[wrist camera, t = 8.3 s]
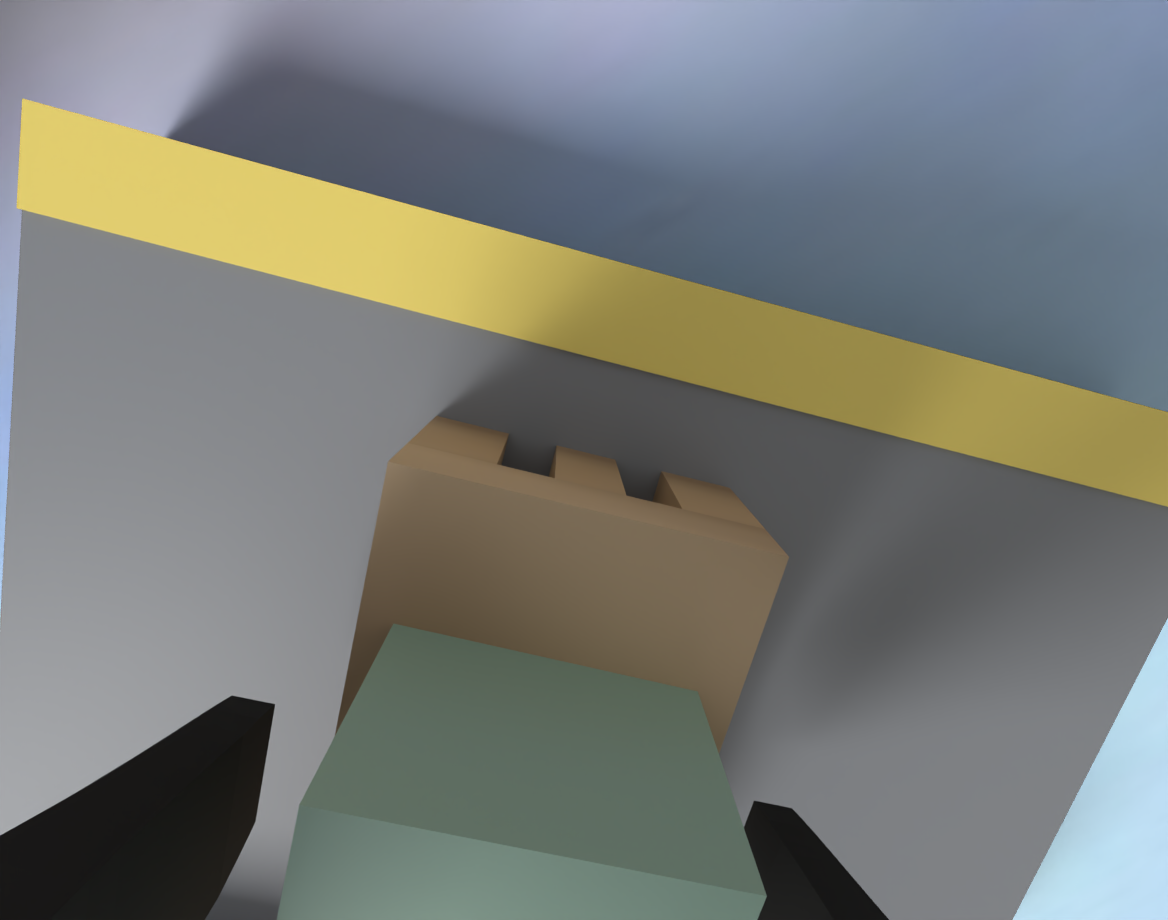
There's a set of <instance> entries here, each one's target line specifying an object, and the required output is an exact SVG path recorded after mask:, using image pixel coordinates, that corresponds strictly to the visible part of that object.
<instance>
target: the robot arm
mask: <svg viewBox="0 0 1168 920" xmlns="http://www.w3.org/2000/svg"><path fill="white" fill-rule="evenodd" d="M274 709H275V704H272V703H267V702H262V701H257V700H252V699H247V698H242V697H237V696H230V697H228V698H227V699H225V700H223V701H222V702H220V703H218V704H217V705H215V706H214V707H212V708H210V709H209V710H207V711H206V712H204V713H202V714H201V715H199V716H198V717H196V718H195V719H193V720H192V721H190V722H188V723H187V724H185V725H184V726H182V727H181V728H179V729H178V730H176V731H175V732H173V733H171V734H170V735H168V736H167V737H165V738H164V739H162V740H160V741H159V742H157V743H156V744H154V745H153V746H151V747H149V748H148V749H146V750H145V751H143V752H142V753H140V754H138V755H137V756H135V757H133V758H132V759H130V760H129V761H127V762H125V763H124V764H122V765H120V766H119V767H117V768H115V769H114V770H112V771H111V772H109V773H107V774H106V775H104V776H102V777H101V778H99V779H97V780H96V781H94V782H93V783H91V784H89V785H88V786H86V787H84V788H83V789H81V790H79V791H78V792H76V793H74V794H73V795H71V796H69V797H67V798H66V799H64V800H62V801H61V802H59V803H57V804H55V805H53V806H52V807H50V808H48V809H46V810H45V811H43V812H41V813H39V814H37V815H36V816H34V817H32V818H30V819H28V820H27V821H25V822H23V823H21V824H20V825H18V826H16V827H14V828H12V829H11V830H9V831H7V832H5V833H4V834H2V835H0V920H205V919H206V917H207V915H208V914H209V912H210V910H211V909H212V907H213V906H214V904H215V902H216V901H217V899H218V897H219V895H220V893H221V891H222V889H223V887H224V885H225V883H226V881H227V879H228V877H229V875H230V873H231V871H232V869H233V867H234V865H235V863H236V861H237V859H238V857H239V855H240V853H241V851H242V849H243V847H244V845H245V843H246V841H247V839H248V837H249V835H250V832H251V830H252V828H253V826H254V824H255V822H256V816H257V810H258V804H259V798H260V792H261V786H262V780H263V775H264V769H265V763H266V757H267V751H268V745H269V739H270V733H271V727H272V721H273V715H274ZM744 830H745V833H746V836H747V839H748V842H749V845H750V848H751V851H752V854H753V857H754V859H755V862H756V865H757V868H758V871H759V874H760V877H761V880H762V883H763V886H764V889H765V892H766V895H767V897H766V900H765V902H764V905H763V907H762V910H761V912H760V914H759V917H758V919H757V920H889V919H888V918H887V917H886V915H885V914H884V913H883V912H882V911H881V910H880V909H879V907H878V906H877V905H876V904H875V903H874V902H873V900H872V899H871V898H870V897H869V896H868V895H867V893H866V892H865V891H864V890H863V889H862V888H861V886H860V885H859V884H858V883H857V882H856V881H855V879H854V878H853V877H852V876H851V875H850V874H849V872H848V871H847V870H846V869H845V868H844V866H843V865H842V864H841V863H840V862H839V861H838V859H837V858H836V857H835V856H834V855H833V854H832V852H831V851H830V850H829V849H828V848H827V847H826V845H825V844H824V843H823V842H822V841H821V840H820V839H819V837H818V836H817V835H816V834H815V833H814V832H813V831H812V829H811V828H810V827H809V826H808V825H807V824H806V823H805V822H804V820H803V819H802V818H801V817H800V816H799V815H798V814H797V813H796V812H795V811H794V810H793V809H792V808H789V807H784V806H779V805H774V804H769V803H764V802H759V801H754V802H753V804H752V807H751V810H750V812H749V815H748V818H747V820H746V823H745V826H744Z"/></svg>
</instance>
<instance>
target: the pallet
mask: <svg viewBox="0 0 1168 920" xmlns="http://www.w3.org/2000/svg"><path fill="white" fill-rule="evenodd" d="M508 436H509V433H504V432H500V431H496V430H492V429H488V428H484V427H480V426H476V425H472V424H468V423H464V422H460V421H456V420H452V419H447V418H443V417H439V416H436V417H435V418H434V419H432V420H431V421H430V422H429V423H428V424H427V425H426V426H425V427H424V428H423V429H422V430H421V431H420V432H419V433H418V434H417V435H416V436H414V437H413V438H412V439H411V440H410V441H409V442H408V443H407V444H406V445H405V446H404V447H403V448H402V449H401V450H400V451H399V452H398V453H396V454H395V455H394V456H393V457H392V458H391V459H390V460H389V461H388V464H387V469H386V474H385V479H384V485H383V490H382V495H381V500H380V505H379V510H378V515H377V521H376V526H375V531H374V536H373V541H372V546H371V552H370V557H369V562H368V567H367V572H366V577H365V582H364V588H363V593H362V598H361V603H360V608H359V613H358V618H357V624H356V629H355V634H354V639H353V644H352V649H351V655H350V660H349V665H348V670H347V675H346V680H345V685H344V691H343V696H342V701H341V706H340V711H339V716H338V721H337V727H336V732H335V735H336V733H337V731H338V729H339V727H340V725H341V724H342V722H343V720H344V718H345V716H346V714H347V712H348V710H349V708H350V706H351V704H352V702H353V700H354V698H355V697H356V695H357V693H358V691H359V689H360V687H361V685H362V683H363V681H364V679H365V677H366V675H367V673H368V672H369V670H370V668H371V666H372V664H373V662H374V660H375V658H376V656H377V654H378V652H379V650H380V648H381V646H382V645H383V643H384V641H385V639H386V637H387V635H388V633H389V631H390V629H391V627H392V625H393V624H398V625H402V626H407V627H411V628H416V629H420V630H425V631H429V632H434V633H438V634H443V635H447V636H452V637H456V638H461V639H465V640H470V641H474V642H479V643H483V644H487V645H492V646H496V647H501V648H505V649H510V650H514V651H519V652H523V653H528V654H532V655H537V656H541V657H546V658H550V659H555V660H559V661H564V662H568V663H573V664H577V665H582V666H586V667H590V668H595V669H599V670H604V671H608V672H613V673H617V674H622V675H626V676H631V677H635V678H640V679H644V680H649V681H653V682H658V683H662V684H667V685H671V686H676V687H680V688H685V689H689V690H693V691H698V694H699V697H700V700H701V703H702V706H703V709H704V711H705V714H706V717H707V720H708V723H709V726H710V729H711V732H712V735H713V738H714V741H715V744H716V747H717V750H718V753H720V750H721V747H722V744H723V741H724V739H725V736H726V733H727V730H728V727H729V724H730V722H731V719H732V716H733V713H734V710H735V708H736V705H737V702H738V699H739V696H740V694H741V691H742V688H743V685H744V682H745V680H746V677H747V674H748V671H749V668H750V666H751V663H752V660H753V657H754V654H755V652H756V649H757V646H758V643H759V640H760V637H761V635H762V632H763V629H764V626H765V623H766V621H767V618H768V615H769V612H770V609H771V607H772V604H773V601H774V598H775V595H776V593H777V590H778V587H779V584H780V581H781V579H782V576H783V573H784V570H785V567H786V565H787V562H788V559H789V556H788V555H787V554H786V553H785V551H784V550H783V549H782V548H781V547H780V546H779V544H778V543H777V542H776V541H775V540H774V539H773V538H772V536H771V535H770V534H769V533H768V532H767V531H766V529H765V528H764V527H763V526H762V525H761V524H760V522H759V521H758V520H757V519H756V518H755V517H754V515H753V514H752V513H751V512H750V511H749V510H748V508H747V507H746V506H745V505H744V504H743V503H742V502H741V500H740V499H739V498H738V497H737V496H736V495H735V493H734V492H733V491H732V490H731V489H730V488H728V487H724V486H720V485H716V484H712V483H708V482H704V481H700V480H696V479H692V478H688V477H684V476H679V475H675V474H671V473H667V472H663V471H661V474H660V478H659V481H658V485H657V488H656V491H655V495H654V498H653V501H652V502H651V501H647V500H643V499H639V498H635V497H630V496H626V492H625V489H624V486H623V483H622V480H621V476H620V473H619V470H618V467H617V464H616V460H614V459H610V458H606V457H602V456H598V455H594V454H590V453H586V452H582V451H578V450H574V449H570V448H566V447H561V446H556V450H555V454H554V458H553V462H552V465H551V469H550V473H549V477H547V476H543V475H539V474H535V473H531V472H527V471H522V470H518V469H514V468H510V467H506V466H502V461H503V457H504V453H505V449H506V444H507V440H508Z"/></svg>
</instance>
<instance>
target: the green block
mask: <svg viewBox="0 0 1168 920" xmlns="http://www.w3.org/2000/svg"><path fill="white" fill-rule="evenodd" d="M766 897H767V895H766V892H765V889H764V886H763V883H762V880H761V877H760V874H759V871H758V868H757V865H756V862H755V859H754V857H753V854H752V851H751V848H750V845H749V842H748V839H747V836H746V833H745V830H744V827H743V824H742V821H741V818H740V815H739V812H738V809H737V806H736V803H735V800H734V797H733V794H732V791H731V788H730V785H729V783H728V780H727V777H726V774H725V771H724V768H723V765H722V762H721V759H720V756H719V753H718V750H717V747H716V744H715V741H714V738H713V735H712V732H711V729H710V726H709V723H708V720H707V717H706V714H705V711H704V709H703V706H702V703H701V700H700V697H699V694H698V691H693V690H689V689H685V688H680V687H676V686H671V685H667V684H662V683H658V682H653V681H649V680H644V679H640V678H635V677H631V676H626V675H622V674H617V673H613V672H608V671H604V670H599V669H595V668H590V667H586V666H582V665H577V664H573V663H568V662H564V661H559V660H555V659H550V658H546V657H541V656H537V655H532V654H528V653H523V652H519V651H514V650H510V649H505V648H501V647H496V646H492V645H487V644H483V643H479V642H474V641H470V640H465V639H461V638H456V637H452V636H447V635H443V634H438V633H434V632H429V631H425V630H420V629H416V628H411V627H407V626H402V625H398V624H393V625H392V627H391V629H390V631H389V633H388V635H387V637H386V639H385V641H384V643H383V645H382V646H381V648H380V650H379V652H378V654H377V656H376V658H375V660H374V662H373V664H372V666H371V668H370V670H369V672H368V673H367V675H366V677H365V679H364V681H363V683H362V685H361V687H360V689H359V691H358V693H357V695H356V697H355V698H354V700H353V702H352V704H351V706H350V708H349V710H348V712H347V714H346V716H345V718H344V720H343V722H342V724H341V725H340V727H339V729H338V731H337V733H336V735H335V737H334V739H333V741H332V743H331V745H330V747H329V749H328V750H327V752H326V754H325V756H324V758H323V760H322V762H321V764H320V766H319V768H318V770H317V772H316V774H315V776H314V777H313V779H312V781H311V783H310V785H309V787H308V789H307V791H306V793H305V795H304V797H303V799H302V801H301V802H300V804H299V809H298V814H297V819H296V824H295V829H294V834H293V839H292V844H291V850H290V855H289V860H288V865H287V870H286V875H285V880H284V885H283V890H282V896H281V901H280V906H279V911H278V916H277V920H757V919H758V917H759V914H760V912H761V910H762V907H763V905H764V902H765V900H766Z"/></svg>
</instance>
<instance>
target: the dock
mask: <svg viewBox="0 0 1168 920" xmlns="http://www.w3.org/2000/svg"><path fill="white" fill-rule="evenodd" d="M17 208H18V209H22V221H21V240H20V259H19V278H18V297H17V316H16V335H15V354H14V372H13V391H12V410H11V429H10V448H9V467H8V486H7V505H6V524H5V543H4V562H3V580H2V599H1V618H0V835H2V834H4V833H5V832H7V831H9V830H11V829H12V828H14V827H16V826H18V825H20V824H21V823H23V822H25V821H27V820H28V819H30V818H32V817H34V816H36V815H37V814H39V813H41V812H43V811H45V810H46V809H48V808H50V807H52V806H53V805H55V804H57V803H59V802H61V801H62V800H64V799H66V798H67V797H69V796H71V795H73V794H74V793H76V792H78V791H79V790H81V789H83V788H84V787H86V786H88V785H89V784H91V783H93V782H94V781H96V780H97V779H99V778H101V777H102V776H104V775H106V774H107V773H109V772H111V771H112V770H114V769H115V768H117V767H119V766H120V765H122V764H124V763H125V762H127V761H129V760H130V759H132V758H133V757H135V756H137V755H138V754H140V753H142V752H143V751H145V750H146V749H148V748H149V747H151V746H153V745H154V744H156V743H157V742H159V741H160V740H162V739H164V738H165V737H167V736H168V735H170V734H171V733H173V732H175V731H176V730H178V729H179V728H181V727H182V726H184V725H185V724H187V723H188V722H190V721H192V720H193V719H195V718H196V717H198V716H199V715H201V714H202V713H204V712H206V711H207V710H209V709H210V708H212V707H214V706H215V705H217V704H218V703H220V702H222V701H223V700H225V699H227V698H228V697H230V696H237V697H242V698H247V699H252V700H257V701H262V702H267V703H272V704H275V709H274V715H273V721H272V727H271V733H270V739H269V745H268V751H267V757H266V763H265V769H264V775H263V780H262V786H261V792H260V798H259V804H258V810H257V816H256V822H255V824H254V826H253V828H252V830H251V832H250V835H249V837H248V839H247V841H246V843H245V845H244V847H243V849H242V851H241V853H240V855H239V857H238V859H237V861H236V863H235V865H234V867H233V869H232V871H231V873H230V875H229V877H228V879H227V881H226V883H225V885H224V887H223V889H222V891H221V893H220V895H219V897H218V899H217V901H216V902H215V904H214V906H213V907H212V909H211V910H210V912H209V914H208V915H207V917H206V919H205V920H277V916H278V911H279V906H280V901H281V896H282V890H283V885H284V880H285V875H286V870H287V865H288V860H289V855H290V850H291V844H292V839H293V834H294V829H295V824H296V819H297V814H298V809H299V804H300V802H301V801H302V799H303V797H304V795H305V793H306V791H307V789H308V787H309V785H310V783H311V781H312V779H313V777H314V776H315V774H316V772H317V770H318V768H319V766H320V764H321V762H322V760H323V758H324V756H325V754H326V752H327V750H328V749H329V747H330V745H331V743H332V741H333V739H334V737H335V732H336V727H337V721H338V716H339V711H340V706H341V701H342V696H343V691H344V685H345V680H346V675H347V670H348V665H349V660H350V655H351V649H352V644H353V639H354V634H355V629H356V624H357V618H358V613H359V608H360V603H361V598H362V593H363V588H364V582H365V577H366V572H367V567H368V562H369V557H370V552H371V546H372V541H373V536H374V531H375V526H376V521H377V515H378V510H379V505H380V500H381V495H382V490H383V485H384V479H385V474H386V469H387V464H388V461H389V460H390V459H391V458H392V457H393V456H394V455H395V454H396V453H398V452H399V451H400V450H401V449H402V448H403V447H404V446H405V445H406V444H407V443H408V442H409V441H410V440H411V439H412V438H413V437H414V436H416V435H417V434H418V433H419V432H420V431H421V430H422V429H423V428H424V427H425V426H426V425H427V424H428V423H429V422H430V421H431V420H432V419H434V418H435V417H436V416H439V417H443V418H447V419H452V420H456V421H460V422H464V423H468V424H472V425H476V426H480V427H484V428H488V429H492V430H496V431H500V432H504V433H509V436H508V440H507V444H506V449H505V453H504V457H503V461H502V466H506V467H510V468H514V469H518V470H522V471H527V472H531V473H535V474H539V475H543V476H547V477H549V473H550V469H551V465H552V462H553V458H554V454H555V450H556V446H561V447H566V448H570V449H574V450H578V451H582V452H586V453H590V454H594V455H598V456H602V457H606V458H610V459H614V460H616V464H617V467H618V470H619V473H620V476H621V480H622V483H623V486H624V489H625V492H626V496H630V497H635V498H639V499H643V500H647V501H651V502H652V501H653V498H654V495H655V491H656V488H657V485H658V481H659V478H660V474H661V471H663V472H667V473H671V474H675V475H679V476H684V477H688V478H692V479H696V480H700V481H704V482H708V483H712V484H716V485H720V486H724V487H728V488H730V489H731V490H732V491H733V492H734V493H735V495H736V496H737V497H738V498H739V499H740V500H741V502H742V503H743V504H744V505H745V506H746V507H747V508H748V510H749V511H750V512H751V513H752V514H753V515H754V517H755V518H756V519H757V520H758V521H759V522H760V524H761V525H762V526H763V527H764V528H765V529H766V531H767V532H768V533H769V534H770V535H771V536H772V538H773V539H774V540H775V541H776V542H777V543H778V544H779V546H780V547H781V548H782V549H783V550H784V551H785V553H786V554H787V555H788V556H789V559H788V562H787V565H786V567H785V570H784V573H783V576H782V579H781V581H780V584H779V587H778V590H777V593H776V595H775V598H774V601H773V604H772V607H771V609H770V612H769V615H768V618H767V621H766V623H765V626H764V629H763V632H762V635H761V637H760V640H759V643H758V646H757V649H756V652H755V654H754V657H753V660H752V663H751V666H750V668H749V671H748V674H747V677H746V680H745V682H744V685H743V688H742V691H741V694H740V696H739V699H738V702H737V705H736V708H735V710H734V713H733V716H732V719H731V722H730V724H729V727H728V730H727V733H726V736H725V739H724V741H723V744H722V747H721V750H720V753H719V756H720V759H721V762H722V765H723V768H724V771H725V774H726V777H727V780H728V783H729V785H730V788H731V791H732V794H733V797H734V800H735V803H736V806H737V809H738V812H739V815H740V818H741V821H742V824H743V827H744V826H745V823H746V820H747V818H748V815H749V812H750V810H751V807H752V804H753V802H754V801H759V802H764V803H769V804H774V805H779V806H784V807H789V808H792V809H793V810H794V811H795V812H796V813H797V814H798V815H799V816H800V817H801V818H802V819H803V820H804V822H805V823H806V824H807V825H808V826H809V827H810V828H811V829H812V831H813V832H814V833H815V834H816V835H817V836H818V837H819V839H820V840H821V841H822V842H823V843H824V844H825V845H826V847H827V848H828V849H829V850H830V851H831V852H832V854H833V855H834V856H835V857H836V858H837V859H838V861H839V862H840V863H841V864H842V865H843V866H844V868H845V869H846V870H847V871H848V872H849V874H850V875H851V876H852V877H853V878H854V879H855V881H856V882H857V883H858V884H859V885H860V886H861V888H862V889H863V890H864V891H865V892H866V893H867V895H868V896H869V897H870V898H871V899H872V900H873V902H874V903H875V904H876V905H877V906H878V907H879V909H880V910H881V911H882V912H883V913H884V914H885V915H886V917H887V918H888V919H889V920H1012V919H1013V917H1014V916H1015V914H1016V912H1017V910H1018V908H1019V906H1020V904H1021V902H1022V900H1023V898H1024V896H1025V894H1026V892H1027V890H1028V888H1029V886H1030V884H1031V882H1032V881H1033V879H1034V877H1035V875H1036V873H1037V871H1038V869H1039V867H1040V865H1041V863H1042V861H1043V859H1044V857H1045V855H1046V853H1047V851H1048V849H1049V847H1050V846H1051V844H1052V842H1053V840H1054V838H1055V836H1056V834H1057V832H1058V830H1059V828H1060V826H1061V824H1062V822H1063V820H1064V818H1065V816H1066V814H1067V813H1068V811H1069V809H1070V807H1071V805H1072V803H1073V801H1074V799H1075V797H1076V795H1077V793H1078V791H1079V789H1080V787H1081V785H1082V783H1083V781H1084V779H1085V778H1086V776H1087V774H1088V772H1089V770H1090V768H1091V766H1092V764H1093V762H1094V760H1095V758H1096V756H1097V754H1098V752H1099V750H1100V748H1101V746H1102V744H1103V743H1104V741H1105V739H1106V737H1107V735H1108V733H1109V731H1110V729H1111V727H1112V725H1113V723H1114V721H1115V719H1116V717H1117V715H1118V713H1119V711H1120V710H1121V708H1122V706H1123V704H1124V702H1125V700H1126V698H1127V696H1128V694H1129V692H1130V690H1131V688H1132V686H1133V684H1134V682H1135V680H1136V678H1137V676H1138V675H1139V673H1140V671H1141V669H1142V667H1143V665H1144V663H1145V661H1146V659H1147V657H1148V655H1149V653H1150V651H1151V649H1152V647H1153V645H1154V643H1155V642H1156V640H1157V638H1158V636H1159V634H1160V632H1161V630H1162V628H1163V626H1164V624H1165V622H1166V620H1167V618H1168V412H1165V411H1162V410H1158V409H1154V408H1151V407H1147V406H1144V405H1140V404H1136V403H1133V402H1129V401H1125V400H1122V399H1118V398H1114V397H1111V396H1107V395H1103V394H1100V393H1096V392H1092V391H1089V390H1085V389H1081V388H1078V387H1074V386H1070V385H1067V384H1063V383H1060V382H1056V381H1052V380H1049V379H1045V378H1041V377H1038V376H1034V375H1030V374H1027V373H1023V372H1019V371H1016V370H1012V369H1008V368H1005V367H1001V366H997V365H994V364H990V363H987V362H983V361H979V360H976V359H972V358H968V357H965V356H961V355H957V354H954V353H950V352H946V351H943V350H939V349H935V348H932V347H928V346H924V345H921V344H917V343H913V342H910V341H906V340H903V339H899V338H895V337H892V336H888V335H884V334H881V333H877V332H873V331H870V330H866V329H862V328H859V327H855V326H851V325H848V324H844V323H840V322H837V321H833V320H829V319H826V318H822V317H819V316H815V315H811V314H808V313H804V312H800V311H797V310H793V309H789V308H786V307H782V306H778V305H775V304H771V303H767V302H764V301H760V300H756V299H753V298H749V297H745V296H742V295H738V294H735V293H731V292H727V291H724V290H720V289H716V288H713V287H709V286H705V285H702V284H698V283H694V282H691V281H687V280H683V279H680V278H676V277H672V276H669V275H665V274H661V273H658V272H654V271H651V270H647V269H643V268H640V267H636V266H632V265H629V264H625V263H621V262H618V261H614V260H610V259H607V258H603V257H599V256H596V255H592V254H588V253H585V252H581V251H578V250H574V249H570V248H567V247H563V246H559V245H556V244H552V243H548V242H545V241H541V240H537V239H534V238H530V237H526V236H523V235H519V234H515V233H512V232H508V231H504V230H501V229H497V228H494V227H490V226H486V225H483V224H479V223H475V222H472V221H468V220H464V219H461V218H457V217H453V216H450V215H446V214H442V213H439V212H435V211H431V210H428V209H424V208H420V207H417V206H413V205H410V204H406V203H402V202H399V201H395V200H391V199H388V198H384V197H380V196H377V195H373V194H369V193H366V192H362V191H358V190H355V189H351V188H347V187H344V186H340V185H336V184H333V183H329V182H326V181H322V180H318V179H315V178H311V177H307V176H304V175H300V174H296V173H293V172H289V171H285V170H282V169H278V168H274V167H271V166H267V165H263V164H260V163H256V162H252V161H249V160H245V159H242V158H238V157H234V156H231V155H227V154H223V153H220V152H216V151H212V150H209V149H205V148H201V147H198V146H194V145H190V144H187V143H183V142H179V141H176V140H172V139H169V138H165V137H161V136H158V135H154V134H150V133H147V132H143V131H139V130H136V129H132V128H128V127H125V126H121V125H117V124H114V123H110V122H106V121H103V120H99V119H95V118H92V117H88V116H85V115H81V114H77V113H74V112H70V111H66V110H63V109H59V108H55V107H52V106H48V105H44V104H41V103H37V102H33V101H30V100H26V99H22V113H21V132H20V152H19V172H18V191H17Z"/></svg>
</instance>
